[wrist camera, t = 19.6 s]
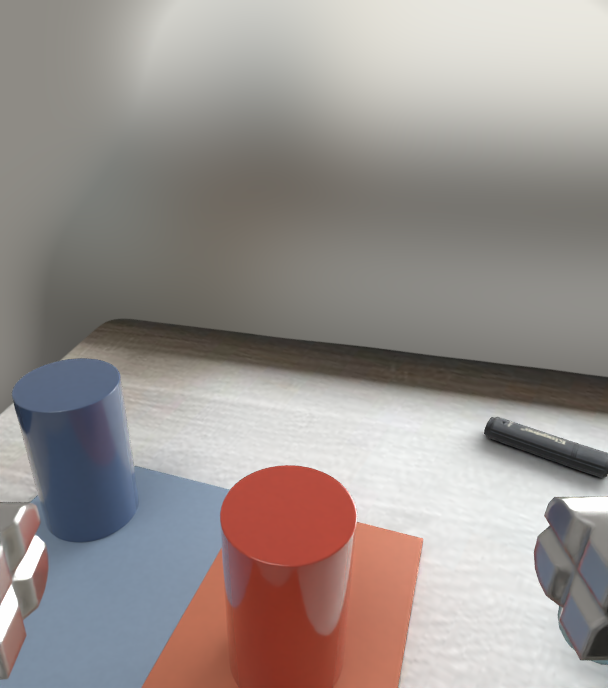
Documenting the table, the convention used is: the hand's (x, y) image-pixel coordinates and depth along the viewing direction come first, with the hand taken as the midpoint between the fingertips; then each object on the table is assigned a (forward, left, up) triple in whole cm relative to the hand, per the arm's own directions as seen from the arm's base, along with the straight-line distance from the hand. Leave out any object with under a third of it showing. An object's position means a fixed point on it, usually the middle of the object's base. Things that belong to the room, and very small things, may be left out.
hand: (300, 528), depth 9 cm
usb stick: (+10, +34, -22) cm, 41 cm away
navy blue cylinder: (-20, +16, -21) cm, 33 cm away
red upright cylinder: (-4, +11, -21) cm, 24 cm away
